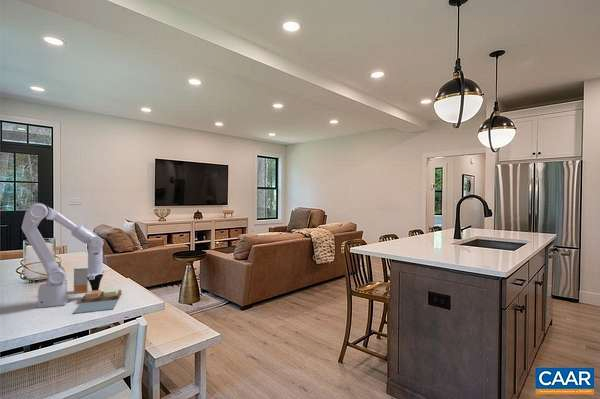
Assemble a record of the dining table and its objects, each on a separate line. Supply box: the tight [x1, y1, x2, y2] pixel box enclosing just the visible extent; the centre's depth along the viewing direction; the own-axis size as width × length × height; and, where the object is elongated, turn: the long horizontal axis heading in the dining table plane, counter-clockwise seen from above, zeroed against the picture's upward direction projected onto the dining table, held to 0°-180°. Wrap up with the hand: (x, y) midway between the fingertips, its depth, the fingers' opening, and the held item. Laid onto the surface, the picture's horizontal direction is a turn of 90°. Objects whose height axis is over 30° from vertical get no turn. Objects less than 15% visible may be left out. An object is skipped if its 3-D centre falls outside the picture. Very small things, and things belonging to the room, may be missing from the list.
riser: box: [80, 289, 122, 304], centre depth 142 cm, size 14×9×2 cm, turn 112°
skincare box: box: [73, 265, 92, 294], centre depth 151 cm, size 6×4×12 cm
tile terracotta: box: [84, 289, 102, 298], centre depth 140 cm, size 5×5×2 cm
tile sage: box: [103, 287, 119, 296], centre depth 142 cm, size 5×5×2 cm
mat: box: [72, 299, 119, 315], centre depth 132 cm, size 14×12×1 cm
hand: (95, 291), depth 144 cm, fingers closed
